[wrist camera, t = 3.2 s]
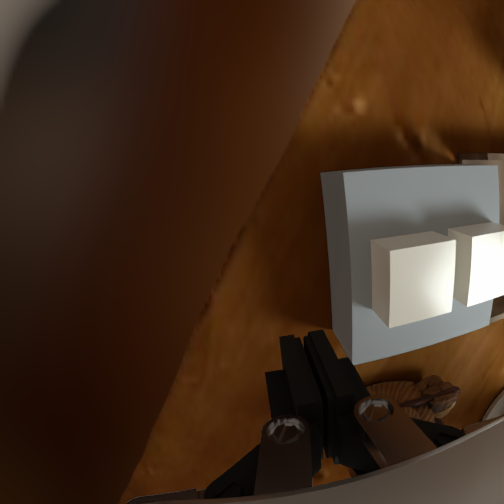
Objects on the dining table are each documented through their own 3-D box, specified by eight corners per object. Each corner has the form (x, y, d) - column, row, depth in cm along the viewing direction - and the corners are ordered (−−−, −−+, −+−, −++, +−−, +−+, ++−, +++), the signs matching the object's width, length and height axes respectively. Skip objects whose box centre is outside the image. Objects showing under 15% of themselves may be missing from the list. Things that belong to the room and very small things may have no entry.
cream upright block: (431, 230, 20) (456, 239, 17) (430, 296, 21) (451, 311, 18) (370, 240, 20) (389, 250, 17) (371, 309, 21) (388, 328, 18)
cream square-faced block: (491, 221, 20) (516, 228, 17) (488, 280, 21) (510, 292, 18) (447, 228, 20) (472, 236, 17) (445, 292, 21) (466, 306, 18)
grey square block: (456, 163, 25) (497, 165, 19) (455, 301, 28) (489, 324, 22) (320, 172, 25) (343, 172, 19) (332, 330, 28) (352, 365, 22)
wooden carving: (442, 353, 30) (490, 404, 20) (437, 383, 31) (478, 435, 21) (301, 394, 30) (320, 468, 20) (305, 423, 31) (322, 493, 21)
